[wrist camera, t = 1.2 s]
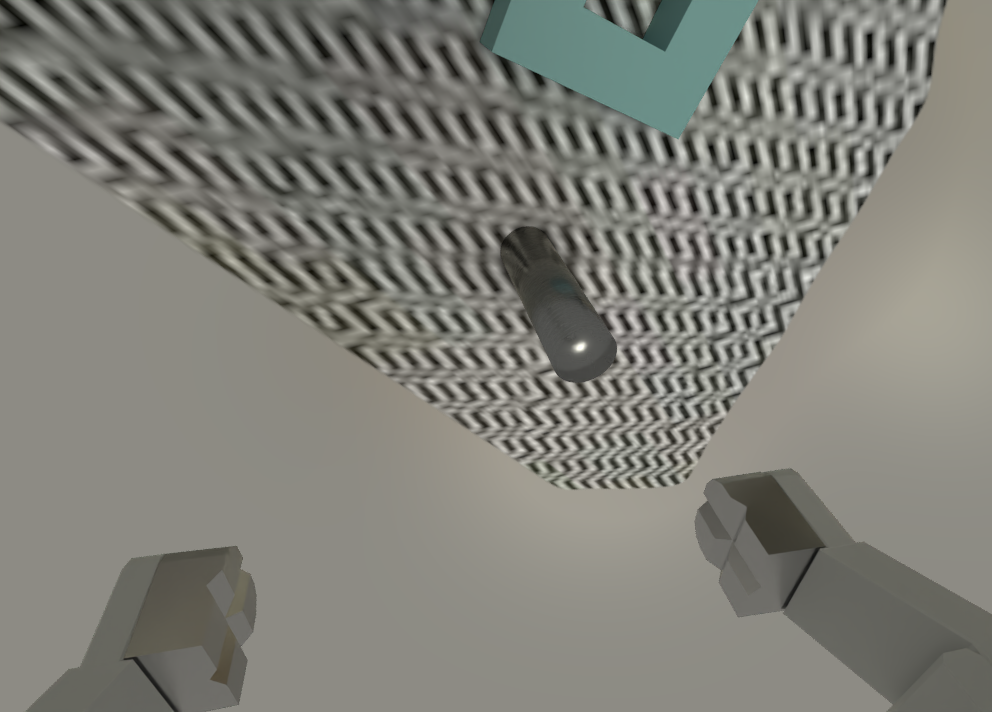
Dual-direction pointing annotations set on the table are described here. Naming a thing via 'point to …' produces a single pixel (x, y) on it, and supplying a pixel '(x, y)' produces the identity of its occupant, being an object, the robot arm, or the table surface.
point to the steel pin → (557, 307)
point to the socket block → (622, 52)
